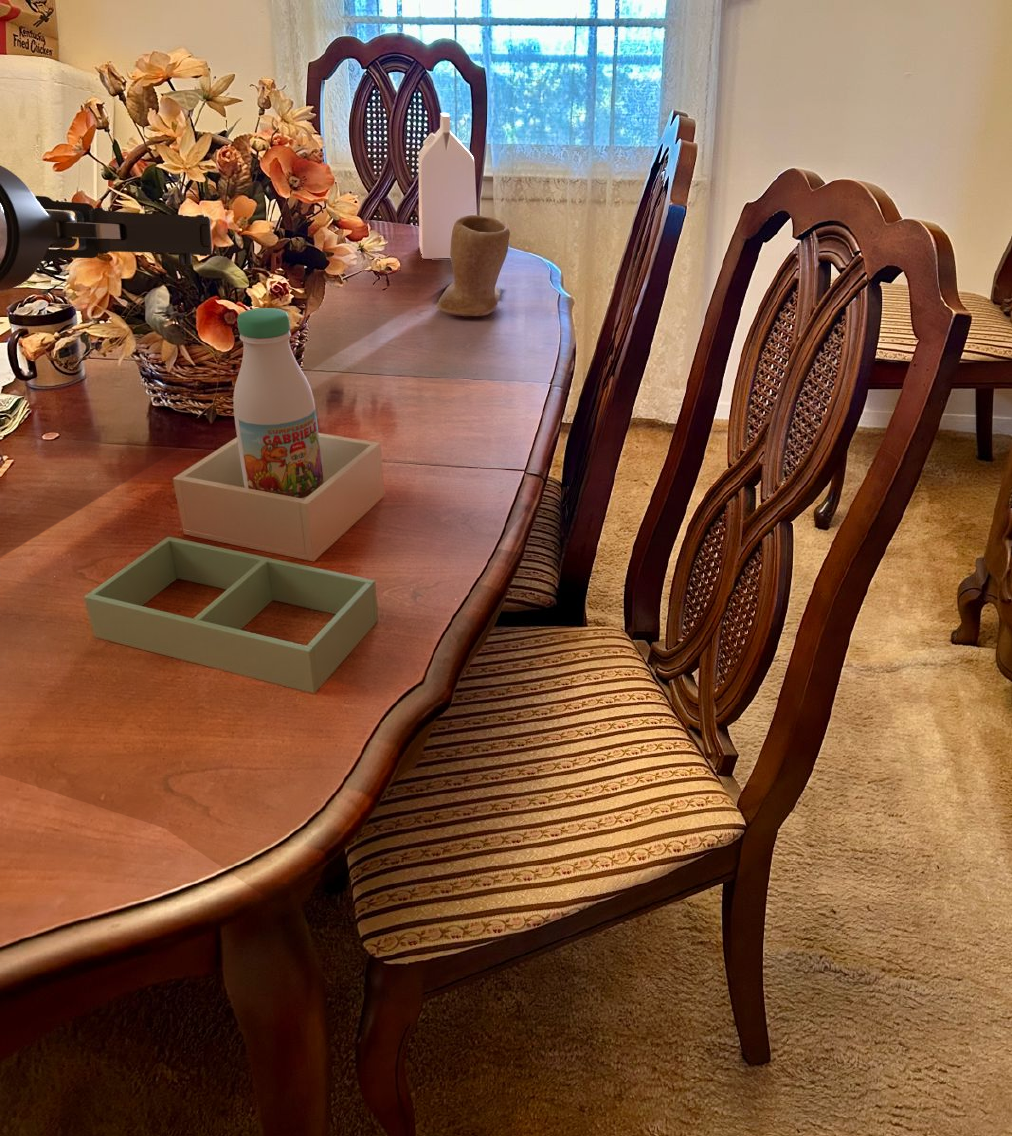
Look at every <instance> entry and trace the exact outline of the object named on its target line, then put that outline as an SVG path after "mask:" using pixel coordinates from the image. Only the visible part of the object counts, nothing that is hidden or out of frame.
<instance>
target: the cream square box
mask: <svg viewBox="0 0 1012 1136" xmlns="http://www.w3.org/2000/svg"><path fill="white" fill-rule="evenodd" d="M318 434H319V443H320V452H321V461H322V471H323V481H324V483H323V484H322V485H321V486H320V487H318V488H317V489H316V490H315V491H314V492H312V493H311V494H310V495H309V496H307V497H306V498H305V499H302V498H296V497H291V496H286V495H280V494H275V493H270V492H265V491H259V490H254V489H249V488H245V487H244V480H243V474H242V467H241V461H240V454H239V447H238V440H237V436H236V437H235V438H233V439H232V440H230V441H229V442H227V443H225V444H224V445H222V446H220V447H219V448H218V449H216V450H214V451H213V452H211V453H210V454H208V455H207V456H205V457H203V458H202V459H200V460H198V461H197V462H195V463H194V464H192V465H191V466H189V467H188V468H186V469H185V470H183V471H181V472H180V473H178V474H177V475H176V476H174V477H172V484H173V487H174V488H173V489H174V493H175V497H176V503H177V508H178V509H177V510H178V513H179V518H180V524H181V529H182V533H183V535H185V536H189V537H195V538H200V539H204V540H210V541H212V542H213V541H214V542H218V543H223V544H229V545H233V546H238V547H242V548H247V549H252V550H257V551H261V552H266V553H270V554H275V555H280V556H285V557H289V558H295V559H297V560H298V559H299V560H304V561H307V562H313V563H314V562H316V560H317V559H318V558H320V557H321V556H322V555H323V554H325V552H326V551H327V550H328V549H329V548H331V546H332V545H334V544H335V543H336V542H337V541H338V540H339V539H340V538H341V537H343V535H345V534H346V533H347V532H348V531H349V530H350V529H351V528H352V527H353V526H354V525H355V524H356V523H357V522H359V520H360V519H361V518H362V517H364V516H365V515H366V514H367V513H368V512H369V511H370V510H371V509H372V508H373V507H375V505H377V503H379V501H381V500H382V499H383V498H384V497H385V484H384V471H383V469H384V468H383V456H382V443H381V442H377V441H371V440H366V439H365V440H364V439H360V438H352V437H346V436H340V435H335V434H329V433H328V434H327V433H322V432H318Z"/></svg>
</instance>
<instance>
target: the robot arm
mask: <svg viewBox="0 0 1012 1136" xmlns="http://www.w3.org/2000/svg"><path fill="white" fill-rule="evenodd" d="M69 212H73V213H74V214H75V218H74V216H73V214H71V213H69ZM211 224H212V223H211V217H209V216H206V215H205V214H197V215H196V216H190V215H184V214H159V213H144V212H132V211H131V212H129V211H117V210H116V211H115V210H106V209H104V207H93V205H91V204H90V203H87V202H73V201H59V200H57V201H56V200H53V199H52V198H50V197H49V196H45V195H34V193H33V192H32V190H31V189H30V188H29V186H28V185H27V184H26V183H25V182H24V181H23V180H22V178H20V177H19V176H18V175H16V174H15V173H14V172H12V171H11V170H9V169H8V168H6V167H4V166H2V165H0V292H2V291H8V290H12V289H14V288H17V287H19V286H20V285H23V284H24V283H25V282H27V281H28V280H29V279H30V278H31V277H32V276H33V275H34V274H35V273H36V271H37V270H38V268H39V267H40V265H41V263H42V262H56V261H58V260H59V259H64V258H66V259H95V258H96V257H98V255H108V254H109V253H110V252H111V253H112V252H113V253H149V254H151V253H154V254H168V255H170V256H171V255H172V256H178V264H179V265H193V259H192V258H193V257H192V256H200V257H208V256H213V241H212V226H211ZM77 242H78V247H77V248H76V249H71V248H73V247H75V246H76V244H77Z"/></svg>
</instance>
